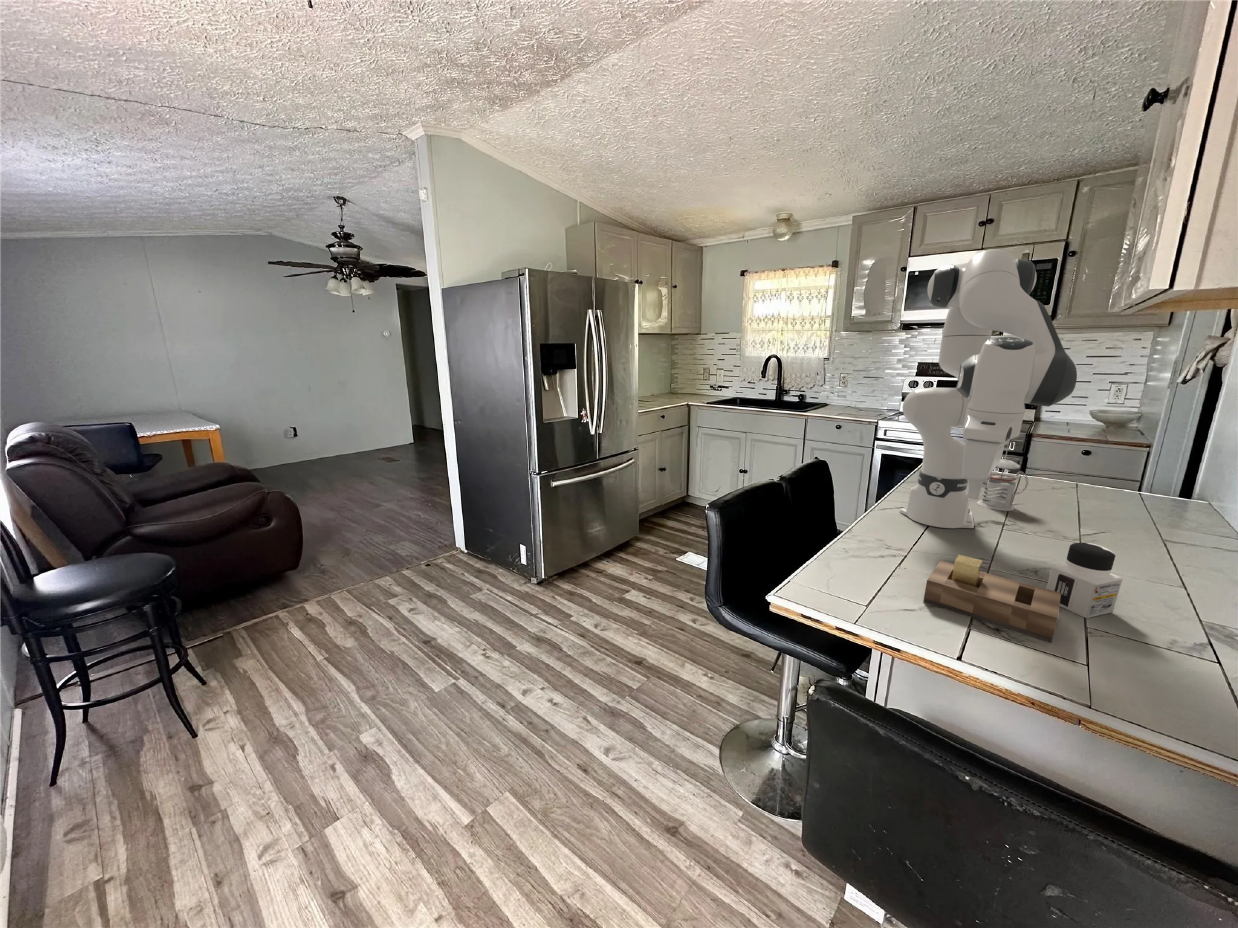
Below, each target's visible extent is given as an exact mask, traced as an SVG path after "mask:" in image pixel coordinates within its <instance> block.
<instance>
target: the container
mask: <svg viewBox="0 0 1238 928" xmlns="http://www.w3.org/2000/svg"><path fill="white" fill-rule="evenodd" d="M1115 559H1116V554H1115V552H1114V551H1112V550H1111V549H1109V548H1107V547H1105V546H1103V545H1099V544H1095V543H1092V542H1091V543H1090V542H1075V543H1072V544H1070V545H1069V547H1068V551H1067V556H1066V559H1065V563H1060V564H1055V565H1052V566H1051V569H1050V572H1049V576H1048V580H1047V584H1046V588H1045V589H1048V590H1052V591H1056V592H1060V593H1061V598H1060V605H1059V608H1063V609H1065V610H1067V611H1069V612H1071V613H1074V614H1076V615H1078V616H1081V617H1083V618H1085V619H1089V618H1092V617H1098V616H1101V615H1106V614H1110V613H1113V612H1114V610H1115V606H1116V603H1117V600H1118V596H1119V593H1120V589H1121V586H1122V585H1121V584H1122V582H1123V578H1122V576H1119V575H1116V574H1113V573H1112V570H1113V565H1114V564H1115V563H1114V562H1115Z"/></svg>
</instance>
